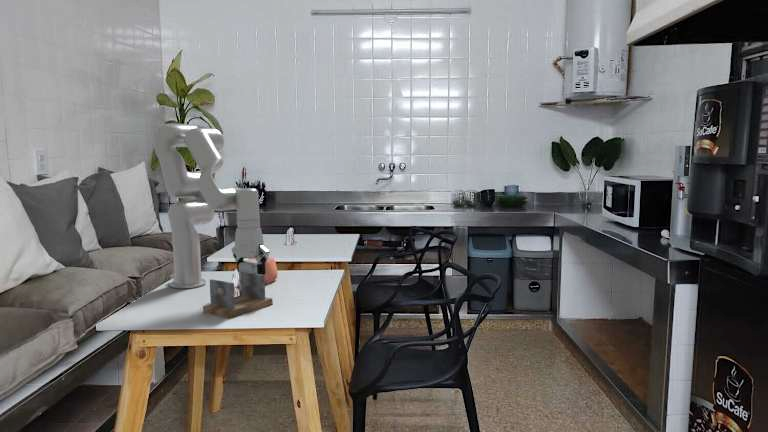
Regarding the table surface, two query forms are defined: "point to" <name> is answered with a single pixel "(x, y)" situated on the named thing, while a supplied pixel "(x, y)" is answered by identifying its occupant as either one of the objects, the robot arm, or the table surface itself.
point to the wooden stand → (235, 306)
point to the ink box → (247, 269)
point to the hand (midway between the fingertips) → (251, 273)
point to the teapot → (269, 270)
